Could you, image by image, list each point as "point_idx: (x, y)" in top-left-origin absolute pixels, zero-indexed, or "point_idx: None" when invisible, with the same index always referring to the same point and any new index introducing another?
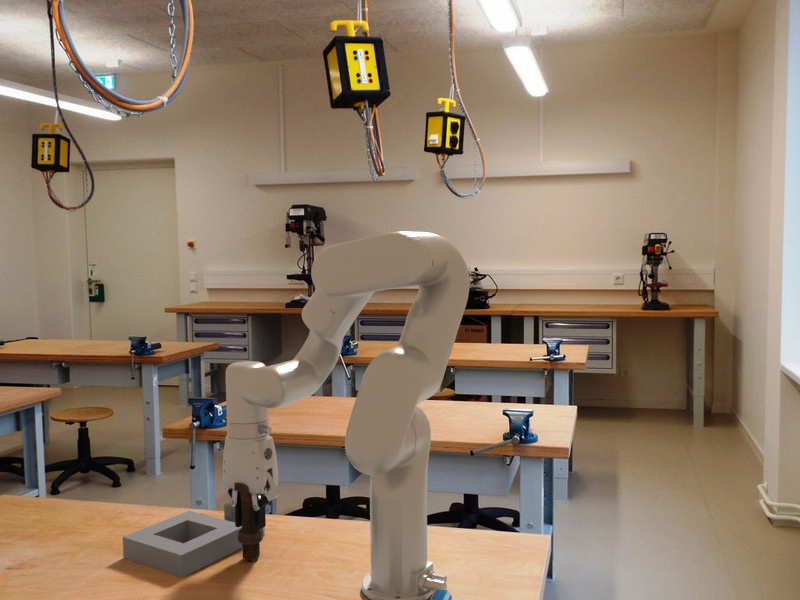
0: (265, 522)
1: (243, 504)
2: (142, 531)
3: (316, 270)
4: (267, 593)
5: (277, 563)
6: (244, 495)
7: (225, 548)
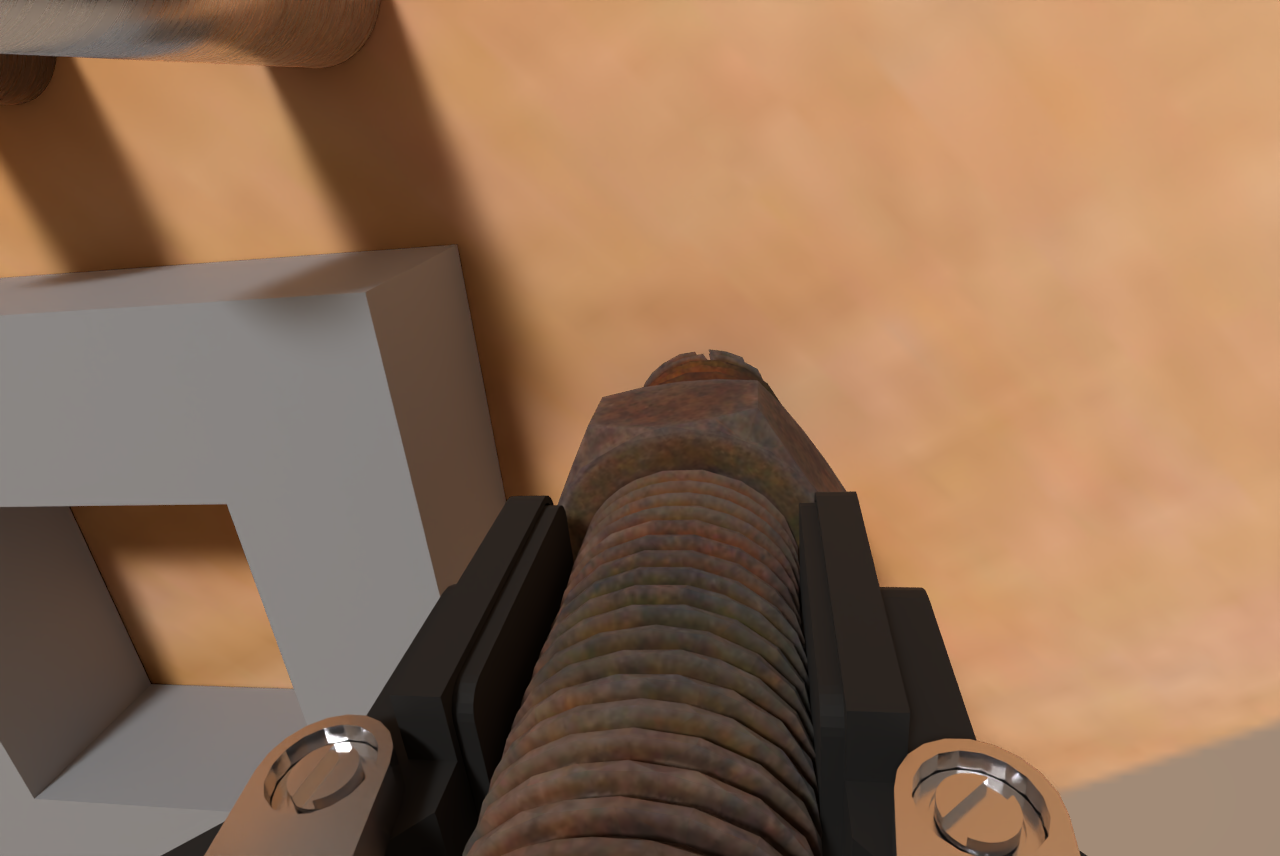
0: (860, 512)
1: None
2: None
3: None
4: (1236, 734)
5: (983, 357)
6: None
7: (480, 513)
